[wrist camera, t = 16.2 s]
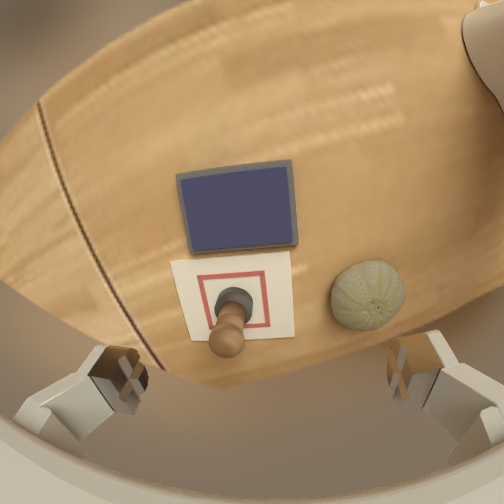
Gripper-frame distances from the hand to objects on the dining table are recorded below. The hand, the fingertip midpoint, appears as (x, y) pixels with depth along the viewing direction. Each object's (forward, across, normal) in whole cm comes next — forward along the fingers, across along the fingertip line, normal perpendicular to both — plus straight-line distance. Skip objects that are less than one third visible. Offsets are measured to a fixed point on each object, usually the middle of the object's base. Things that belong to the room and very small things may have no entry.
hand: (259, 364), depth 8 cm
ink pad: (+23, +4, +1) cm, 24 cm away
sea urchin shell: (+24, -10, +12) cm, 29 cm away
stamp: (+23, +6, +12) cm, 26 cm away
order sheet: (+23, +6, +12) cm, 27 cm away
